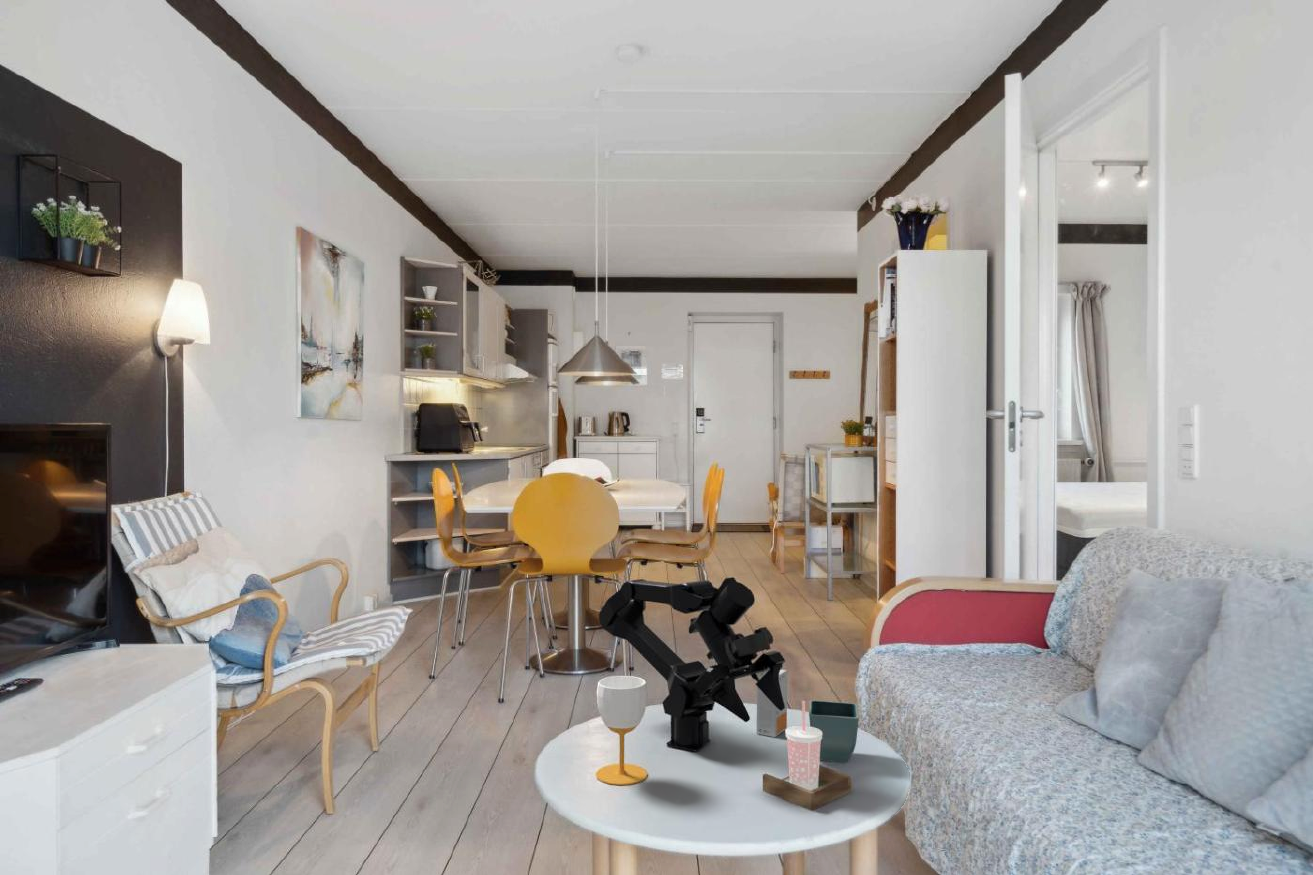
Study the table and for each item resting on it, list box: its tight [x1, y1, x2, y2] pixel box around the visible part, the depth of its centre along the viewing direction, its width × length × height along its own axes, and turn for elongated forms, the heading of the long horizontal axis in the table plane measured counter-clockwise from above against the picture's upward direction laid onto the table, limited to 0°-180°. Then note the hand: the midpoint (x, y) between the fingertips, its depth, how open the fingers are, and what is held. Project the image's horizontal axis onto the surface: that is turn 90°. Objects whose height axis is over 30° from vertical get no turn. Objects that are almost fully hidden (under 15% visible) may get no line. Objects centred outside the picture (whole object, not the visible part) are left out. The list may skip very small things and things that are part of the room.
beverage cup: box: [784, 700, 822, 791], centre depth 135 cm, size 6×6×14 cm
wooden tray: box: [762, 764, 852, 811], centre depth 135 cm, size 10×11×3 cm
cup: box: [595, 675, 649, 786], centre depth 141 cm, size 9×9×16 cm
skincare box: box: [755, 669, 788, 738], centre depth 163 cm, size 6×4×12 cm
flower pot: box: [808, 699, 860, 763], centre depth 150 cm, size 9×9×9 cm
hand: (765, 714), depth 141 cm, fingers open, 9 cm apart
